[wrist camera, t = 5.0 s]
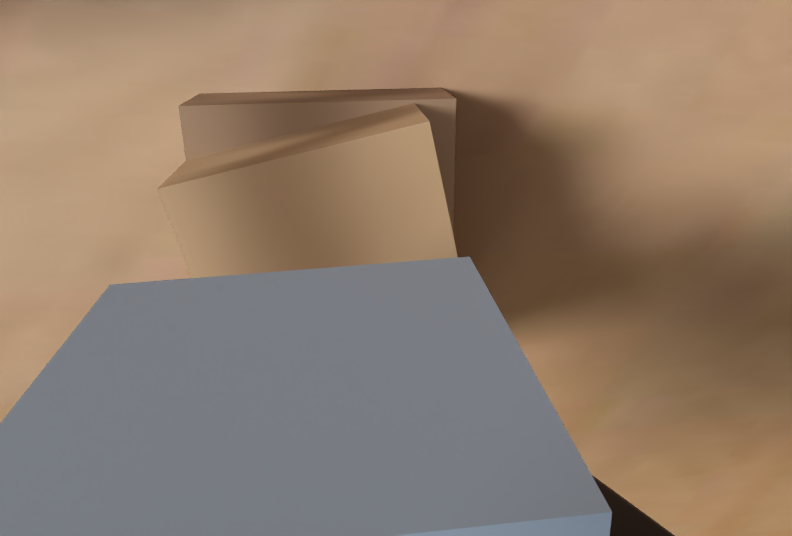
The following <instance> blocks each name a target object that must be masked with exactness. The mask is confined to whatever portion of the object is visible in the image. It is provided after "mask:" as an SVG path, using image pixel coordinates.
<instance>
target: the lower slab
mask: <svg viewBox="0 0 792 536" xmlns="http://www.w3.org/2000/svg"><path fill="white" fill-rule="evenodd" d="M412 103H414V104H415V105H416V106H417V107H418V108H419V109H420V111H421V112H422V113H423V114H424V115H425V116H426V118H427V119H428V120H429V121H430V126H431V131H432V136H433V140H434V145H435V150H436V155H437V160H438V164H439V169H440V174H441V179H442V184H443V188H444V193H445V198H446V203H447V208H448V212H449V217H450V222H451V227H452V232H453V236H454V190H455V138H456V98H455V97H453V96H452V95H451V94H449V93H448V92H446V91H445V90H444V89H442V88H410V89H370V90H330V91H290V92H250V93H211V94H198V95H197V96H195V97H193V98H191V99H190V100H188V101H186V102H185V103H183V104H181V105H179V113H180V120H181V127H182V134H183V141H184V149H185V156H186V161H187V160H188V159H191V158H195V157H199V156H203V155H207V154H211V153H215V152H220V151H224V150H228V149H232V148H236V147H240V146H244V145H248V144H252V143H256V142H260V141H264V140H268V139H272V138H276V137H280V136H284V135H288V134H292V133H296V132H300V131H304V130H308V129H312V128H316V127H320V126H324V125H328V124H332V123H336V122H340V121H344V120H348V119H352V118H356V117H360V116H364V115H368V114H372V113H376V112H380V111H384V110H388V109H392V108H396V107H400V106H404V105H408V104H412Z"/></svg>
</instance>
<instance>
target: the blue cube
mask: <svg viewBox="0 0 792 536" xmlns="http://www.w3.org/2000/svg"><path fill="white" fill-rule="evenodd" d="M611 518H612V511H611V509H610V507H609V505H608V504H607V502H606V500H605V498H604V496H603V495H602V493H601V491H600V489H599V487H598V486H597V484H596V482H595V480H594V479H593V477H592V475H591V473H590V471H589V470H588V468H587V466H586V464H585V462H584V461H583V459H582V457H581V455H580V453H579V452H578V450H577V448H576V446H575V444H574V443H573V441H572V439H571V437H570V435H569V434H568V432H567V430H566V428H565V427H564V425H563V423H562V421H561V419H560V418H559V416H558V414H557V412H556V410H555V409H554V407H553V405H552V403H551V401H550V400H549V398H548V396H547V394H546V392H545V391H544V389H543V387H542V385H541V383H540V382H539V380H538V378H537V376H536V375H535V373H534V371H533V369H532V367H531V366H530V364H529V362H528V360H527V358H526V357H525V355H524V353H523V351H522V349H521V348H520V346H519V344H518V342H517V340H516V339H515V337H514V335H513V333H512V331H511V330H510V328H509V326H508V324H507V323H506V321H505V319H504V317H503V315H502V314H501V312H500V310H499V308H498V306H497V305H496V303H495V301H494V299H493V297H492V296H491V294H490V292H489V290H488V288H487V287H486V285H485V283H484V281H483V279H482V278H481V276H480V274H479V272H478V271H477V269H476V267H475V265H474V263H473V262H472V260H471V258H470V257H457V258H445V259H432V260H419V261H406V262H394V263H381V264H368V265H355V266H343V267H330V268H317V269H304V270H292V271H279V272H266V273H253V274H241V275H228V276H215V277H202V278H190V279H177V280H164V281H151V282H139V283H126V284H113V285H109V287H108V288H107V289H106V290H105V292H104V293H103V294H102V295H101V297H100V298H99V299H98V301H97V302H96V303H95V304H94V306H93V307H92V308H91V309H90V311H89V312H88V313H87V314H86V316H85V317H84V318H83V320H82V321H81V322H80V323H79V325H78V326H77V327H76V328H75V330H74V331H73V332H72V333H71V335H70V336H69V337H68V339H67V340H66V341H65V342H64V344H63V345H62V346H61V347H60V349H59V350H58V351H57V352H56V354H55V355H54V356H53V357H52V359H51V360H50V361H49V363H48V364H47V365H46V366H45V368H44V369H43V370H42V371H41V373H40V374H39V375H38V376H37V378H36V379H35V380H34V382H33V383H32V384H31V385H30V387H29V388H28V389H27V390H26V392H25V393H24V394H23V395H22V397H21V398H20V399H19V400H18V402H17V403H16V404H15V406H14V407H13V408H12V409H11V411H10V412H9V413H8V414H7V416H6V417H5V418H4V419H3V421H2V422H1V423H0V536H610V528H611Z"/></svg>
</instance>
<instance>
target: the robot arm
mask: <svg viewBox="0 0 792 536" xmlns="http://www.w3.org/2000/svg"><path fill="white" fill-rule="evenodd" d="M592 477H593V479H594V480H595V482H596V484H597V486H598V487H599V489H600V491H601V493H602V495H603V496H604V498H605V500H606V502H607V504H608V505H609V507H610V509H611V511H612V518H611V528H610V536H675V535H673V534H672V533H670V532H669V531H668V530H666V529H665V528H664V527H662V526H661V525H660V524H658V523H657V522H655V521H654V520H653V519H651V518H650V517H649V516H647V515H646V514H645V513H643V512H642V511H640V510H639V509H638V508H636V507H635V506H634V505H632V504H631V503H629V502H628V501H627V500H625V499H624V498H623V497H621V496H620V495H619V494H617V493H616V492H614V491H613V490H612V489H610V488H609V487H608V486H606V485H605V484H604V483H602V482H601V481H599V480H598V479H597V478H595V477H594V476H593V475H592Z"/></svg>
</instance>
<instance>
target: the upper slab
mask: <svg viewBox="0 0 792 536" xmlns="http://www.w3.org/2000/svg"><path fill="white" fill-rule="evenodd" d="M157 190H158V192H159V195H160V198H161V200H162V203H163V205H164V208H165V211H166V213H167V216H168V218H169V221H170V223H171V226H172V229H173V231H174V234H175V236H176V239H177V242H178V244H179V247H180V249H181V252H182V254H183V257H184V260H185V262H186V265H187V267H188V270H189V273H190V275H191V278H202V277H215V276H228V275H241V274H253V273H266V272H279V271H292V270H304V269H317V268H330V267H343V266H355V265H368V264H381V263H394V262H406V261H419V260H432V259H445V258H457V257H458V256H457V251H456V246H455V241H454V236H453V232H452V227H451V222H450V217H449V212H448V208H447V203H446V198H445V193H444V188H443V184H442V179H441V174H440V169H439V164H438V160H437V155H436V150H435V145H434V140H433V136H432V131H431V126H430V121H429V120H428V119H427V118H426V116H425V115H424V114H423V113H422V112H421V111H420V109H419V108H418V107H417V106H416V105H415V104H414V103H412V104H408V105H404V106H400V107H396V108H392V109H388V110H384V111H380V112H376V113H372V114H368V115H364V116H360V117H356V118H352V119H348V120H344V121H340V122H336V123H332V124H328V125H324V126H320V127H316V128H312V129H308V130H304V131H300V132H296V133H292V134H288V135H284V136H280V137H276V138H272V139H268V140H264V141H260V142H256V143H252V144H248V145H244V146H240V147H236V148H232V149H228V150H224V151H220V152H215V153H211V154H207V155H203V156H199V157H195V158H191V159H188V160H187V161H186V162H184V163H183V164H182V165H181V166H180V167H179V168H178V169H177V170H176V171H175V172H174V173H173V174H172V175H171V176H170V177H169V178H168V179H167V180H166V181H165V182H164V183H163V184H162V185H161V186H160V187H159V188H158V189H157Z"/></svg>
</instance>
